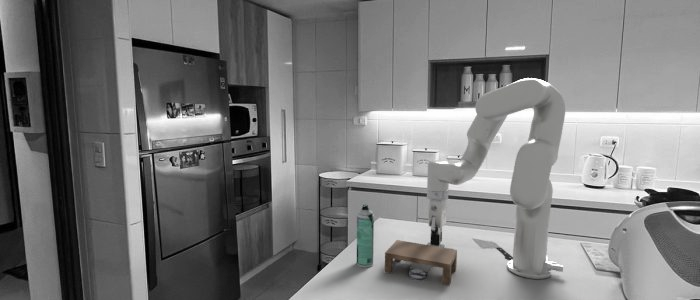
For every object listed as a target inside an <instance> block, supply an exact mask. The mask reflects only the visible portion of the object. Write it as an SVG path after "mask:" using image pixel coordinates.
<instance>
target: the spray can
mask: <svg viewBox="0 0 700 300" xmlns="http://www.w3.org/2000/svg"><path fill="white" fill-rule="evenodd" d="M356 213H357V214H356V265H357V266H358V267H360V268H371V267H373V266H374V238H375V237H374V231H375V229H374V226H375V225H374V224H375V222H374V220H375V217H374V216H375V215H374V212H373V211H372V210H370V208H369V205H368V204H362V207H361V208H360V210H358V211H357V212H356Z"/></svg>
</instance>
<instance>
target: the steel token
mask: <svg viewBox="0 0 700 300" xmlns="http://www.w3.org/2000/svg"><path fill="white" fill-rule="evenodd" d="M408 271H409V270H408ZM426 275H427V274H426V273H425V272H424V271H422V270H418V269H414V270H411V271H409V272H408V277H409V278H410V279H411V280H413V281H423V280H425V279H426V277H427V276H426Z"/></svg>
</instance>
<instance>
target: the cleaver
mask: <svg viewBox="0 0 700 300" xmlns="http://www.w3.org/2000/svg"><path fill="white" fill-rule="evenodd" d="M471 239H472V241H473V242H474V243H475V244H477V246H478V247H480V248H481V249H496V250H497V251H499V252H500V253H501V254H502V255H503V256H504V259H506V260H507V261H510V260H513V255H511V254H510V253H509V252H507V251H506V250H504V248H502V247H501V246H500V245H498V243H497V242H494V241H493V242H492V241H489V240H484V239H477V238H473V237H471Z"/></svg>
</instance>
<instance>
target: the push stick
mask: <svg viewBox="0 0 700 300" xmlns="http://www.w3.org/2000/svg"><path fill="white" fill-rule="evenodd" d="M435 226H437V225H435ZM435 229H437V228H435ZM439 235H440V244H439V246H437V245H431V244H430V242H427V244H426V245H431V246H437V247H443V248H446V247H445V244H442V243H441V242H442V241H441V228H440V227H439ZM433 267H434V266H429V265H424V264H419V263H413V262H412V264H411V265H410V267H409V268H408V271H411V270H414V269H418V270H422V271H424V272H425V273H426V275H429V274H430V272H431V270H432V268H433Z"/></svg>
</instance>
